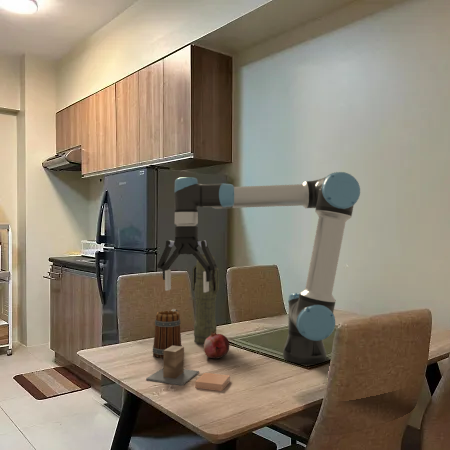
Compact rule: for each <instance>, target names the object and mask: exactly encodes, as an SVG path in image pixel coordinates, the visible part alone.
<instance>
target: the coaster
mask: <svg viewBox="0 0 450 450" xmlns="http://www.w3.org/2000/svg"><path fill="white" fill-rule="evenodd" d="M199 373H200V371H199V370H193V369H187V368H184V373H182V374H181V375H179V376H178V377H177V378H175V379H174V378H167V377H163V368H159V370H157V371H156V372H153V373H152V374H151V375H149V376H147V377H146V381H151V382H156V383H157V382H158V383H162V384H163V383H165V384H171V385H176V386H184V385H185V384H186V383H188V382H189V381H190V380H192V379H193V378H194V377H195V376H197V375H198V374H199Z"/></svg>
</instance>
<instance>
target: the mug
mask: <svg viewBox="0 0 450 450" xmlns="http://www.w3.org/2000/svg"><path fill="white" fill-rule="evenodd" d="M153 335H154V337H153V345H152V355H153V356H154V357H156V358H157V359H163V358H164V350H165V349H167V348H169V347H171V346H181V347H183V346H182V335H181V318H180V313H179V311H178V309H175V308H172V309H171V310H162V311H161V310H160V311H157V312H156V314H155V320H154V334H153Z"/></svg>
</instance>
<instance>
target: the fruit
mask: <svg viewBox="0 0 450 450" xmlns="http://www.w3.org/2000/svg"><path fill="white" fill-rule="evenodd" d="M214 332H215V333H214ZM214 332H212V333H211V335H210V336H209V337H208V338H207V339H206V340H205V343H204V344H203V352H204V354H205V355H206V358H207V357H208V358H210V359H220V358H223V357H224V356H225V355H227V354H228V353H229V350H230V341H229V339H228V338H227V337H226V335H224V334H222V333H217V330H216V331H215V330H214Z"/></svg>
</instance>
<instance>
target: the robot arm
mask: <svg viewBox="0 0 450 450" xmlns="http://www.w3.org/2000/svg"><path fill="white" fill-rule="evenodd" d="M173 193H174V194H173V197H174V203H173V204H174V225H176V226H174V240H173V239H172V240H171V239H170V240H169V239H168V240H166V241H165V247H164V249H163V251H162V255H160V258H159V261H158V263H157V266H156V267H157V268H158V269H160V270H162V280H163V281H164V291H166V292H167V291H170V290H172V271H171V269H170V267H172V266H173V264H174V263H175V261H176V260H177V258H178V257H179V256H180V255H192V256H194V258H195V259H196V261H197V260H198V261H199V263H200V264H201V265H202V266H203V268H204V269H205V270H206V271H205V272H203V292H208V291H209V282H210V281H211V271H212V270H214V269H217V267H218V265H217V264H216V260H215V261H214V259H215V258H214V259H213V257H212V255H213V254H212V253H211V251H210V249H209V246H208V240H200V241H199V240H198V238H199V227H198V226H197V225H198V223H199V218H198V216H199V215H198V213H199V211H198V210H199V209H198V208H211V209H213V210H222V209H237V208H238V209H241V208H266V207H267V208H269V207H294V206H300V207H301V206H302V207H303V208H304V209H315V213H316V214H317V216H318V220H317V226H316V231H315V234H314V235H315V236H314V240H313V246H312V252H311V257H310V263H309V268H308V273H307V278H306V283H305V288H304V289H303V290H302V291H300V292H291V293H290V294H289V295H288V301H287V303H288V320H287V321H288V322H287V324H288V327H287V328H288V329H287V330H288V331H287V332H288V333H287V334H288V335H287V338H286V341H285V342H284V346H283V350H282V357H283V359H284V360H287V361H289V362H292V363H295V364H296V363H297V364H304V365H305V364H306V365H310V364H311V365H312V364H314V365H315V364H321V363H324V362H325V361H327V351H326V350H327V349H326V347H325V344H324V340H325V339H327V338H328V337H330V336H331V335H332V334H333V332H334V330H335V327H336V317H335V314H334V311H335V308H336V307H335V306H336V299H335V297H334V296H333V291H334V286H335V285H334V284H335V280H336V274H337V270H338V262H339V258H340V253H341V248H342V242H343V237H344V231H345V227H346V222H347V221H348V220H350V219H351V218H352V216H353V212H354V211H353V210H354V206H355V205H356V203H357V202H358V200H359V199H360V195H361V186H360V184H359V181H358V180H357V179H356V178H355V177H354V176H353V175H352V174H351V173H348V172H344V171H336V172H331V173H329V174H328V175H327V176H324V177H322V178H319V179H315V180H309V181H308V180H305V181H304V182H303V183H301V184H300V183H299V184H275V185H273V184H272V185H251V186H250V185H249V186H246V185H245V186H235V185H233V184H231V183H206V184H205V183H204V184H203V183H199V181H198V178H196V177H186V176H185V177H178V178H176V179H175V180H174V192H173ZM173 247H174V248H175V249H174V251H173V252H172V248H173ZM198 247H200V248H201V250H202V252H203V253H201V252H200V251H199V249H198ZM171 252H172V254H171ZM170 254H171V256H170ZM201 254H204V255H205V257H206V259H207V261H208V263H209V264H208V263H207V262H206V260H205V259H204V258H203V256H202V255H201ZM211 254H212V255H211ZM169 256H170V257H169Z"/></svg>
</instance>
